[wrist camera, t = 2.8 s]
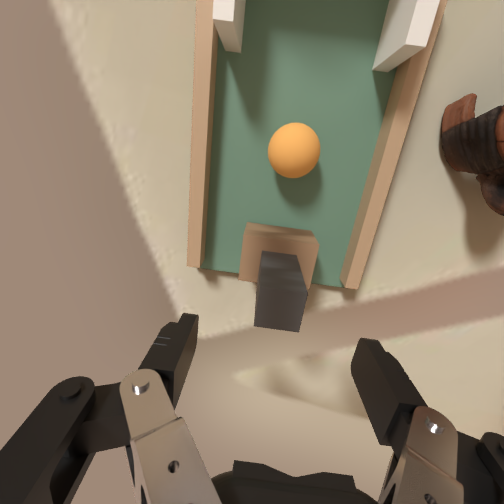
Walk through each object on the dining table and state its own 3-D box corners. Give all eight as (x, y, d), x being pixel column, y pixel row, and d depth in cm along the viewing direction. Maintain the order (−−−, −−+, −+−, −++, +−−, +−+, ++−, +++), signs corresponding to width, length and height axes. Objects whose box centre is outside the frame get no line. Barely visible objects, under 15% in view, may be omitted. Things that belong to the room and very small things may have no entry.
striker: (311, 230, 24) (339, 280, 15) (302, 269, 25) (324, 337, 16) (247, 222, 24) (234, 265, 15) (242, 261, 25) (228, 323, 16)
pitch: (442, -51, 18) (523, -145, 12) (345, 283, 27) (366, 317, 21) (211, -81, 18) (185, -188, 12) (194, 263, 27) (176, 291, 22)
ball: (319, 128, 21) (331, 123, 17) (310, 179, 23) (318, 183, 19) (271, 122, 21) (272, 115, 17) (264, 172, 23) (264, 176, 19)
